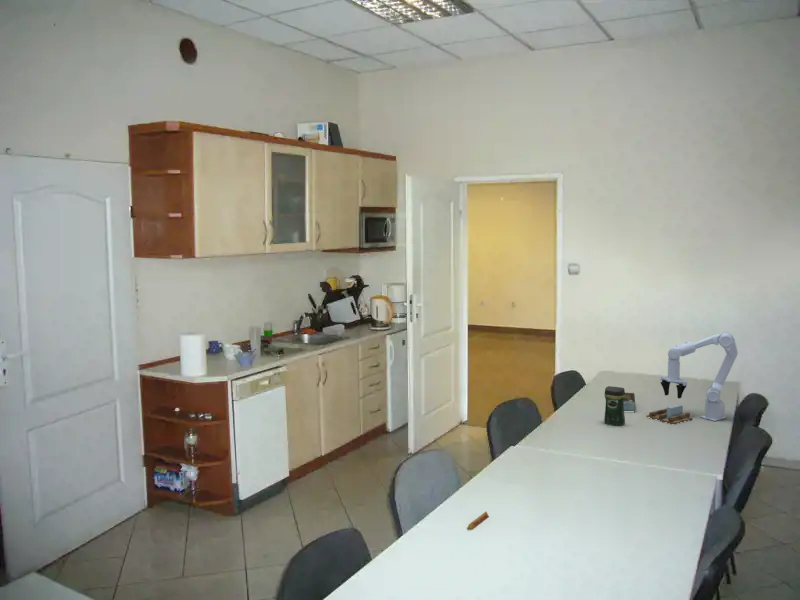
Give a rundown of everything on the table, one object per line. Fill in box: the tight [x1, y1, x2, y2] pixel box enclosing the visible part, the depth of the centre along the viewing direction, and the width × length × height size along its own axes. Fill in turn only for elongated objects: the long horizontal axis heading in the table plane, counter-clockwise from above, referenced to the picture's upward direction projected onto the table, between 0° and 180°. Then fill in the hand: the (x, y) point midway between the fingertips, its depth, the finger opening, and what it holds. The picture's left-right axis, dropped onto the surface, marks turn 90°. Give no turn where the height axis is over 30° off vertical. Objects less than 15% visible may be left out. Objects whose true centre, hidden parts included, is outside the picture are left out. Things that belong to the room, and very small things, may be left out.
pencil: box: [466, 511, 490, 531], centre depth 231 cm, size 3×12×2 cm, turn 146°
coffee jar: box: [603, 385, 626, 426], centre depth 340 cm, size 10×8×19 cm
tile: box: [666, 404, 684, 419], centre depth 345 cm, size 9×2×6 cm, turn 122°
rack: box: [645, 407, 694, 425], centre depth 347 cm, size 15×16×3 cm
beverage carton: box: [624, 392, 636, 413], centre depth 370 cm, size 8×19×7 cm, turn 162°
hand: (673, 396), depth 354 cm, fingers open, 7 cm apart
